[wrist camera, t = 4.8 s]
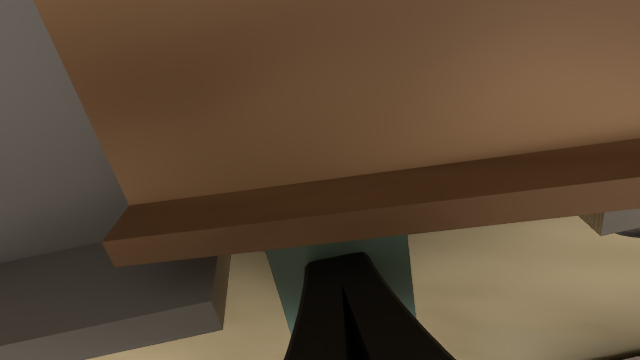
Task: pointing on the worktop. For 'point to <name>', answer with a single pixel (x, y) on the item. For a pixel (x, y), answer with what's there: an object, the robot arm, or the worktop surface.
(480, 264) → the worktop surface
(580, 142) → the tilt board
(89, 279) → the tray
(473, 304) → the worktop surface
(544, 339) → the worktop surface
